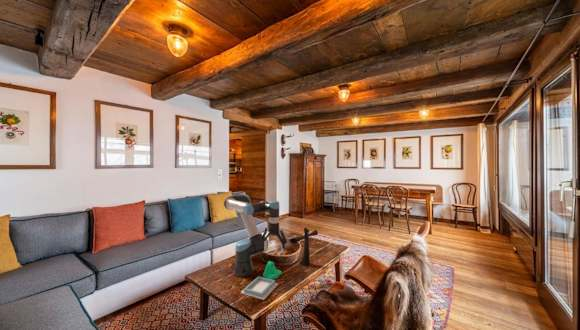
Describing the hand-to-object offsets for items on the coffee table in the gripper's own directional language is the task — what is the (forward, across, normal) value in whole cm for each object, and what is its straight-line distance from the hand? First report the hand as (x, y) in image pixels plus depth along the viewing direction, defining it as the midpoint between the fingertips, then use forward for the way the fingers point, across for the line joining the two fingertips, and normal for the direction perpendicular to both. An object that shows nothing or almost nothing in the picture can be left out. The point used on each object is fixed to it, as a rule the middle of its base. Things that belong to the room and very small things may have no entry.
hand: (273, 251), depth 166 cm
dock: (+18, -1, -19) cm, 26 cm away
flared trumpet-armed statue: (+19, +15, +27) cm, 36 cm away
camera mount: (+19, 0, -1) cm, 19 cm away
